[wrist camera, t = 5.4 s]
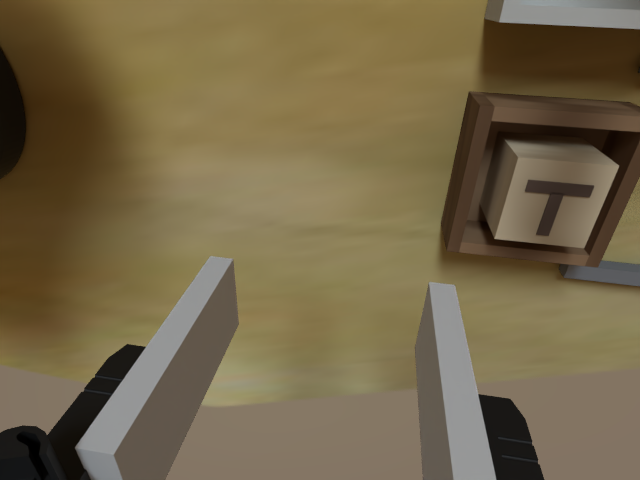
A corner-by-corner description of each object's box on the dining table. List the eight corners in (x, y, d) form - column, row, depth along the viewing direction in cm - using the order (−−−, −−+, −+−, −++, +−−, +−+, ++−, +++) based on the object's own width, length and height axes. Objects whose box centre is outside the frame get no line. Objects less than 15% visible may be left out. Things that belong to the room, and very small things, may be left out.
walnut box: (441, 223, 27) (446, 250, 24) (468, 91, 23) (480, 105, 20) (574, 237, 27) (597, 267, 24) (629, 102, 22) (666, 118, 19)
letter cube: (479, 202, 26) (494, 239, 22) (498, 131, 24) (518, 158, 20) (555, 210, 25) (584, 249, 21) (581, 137, 23) (620, 166, 19)
